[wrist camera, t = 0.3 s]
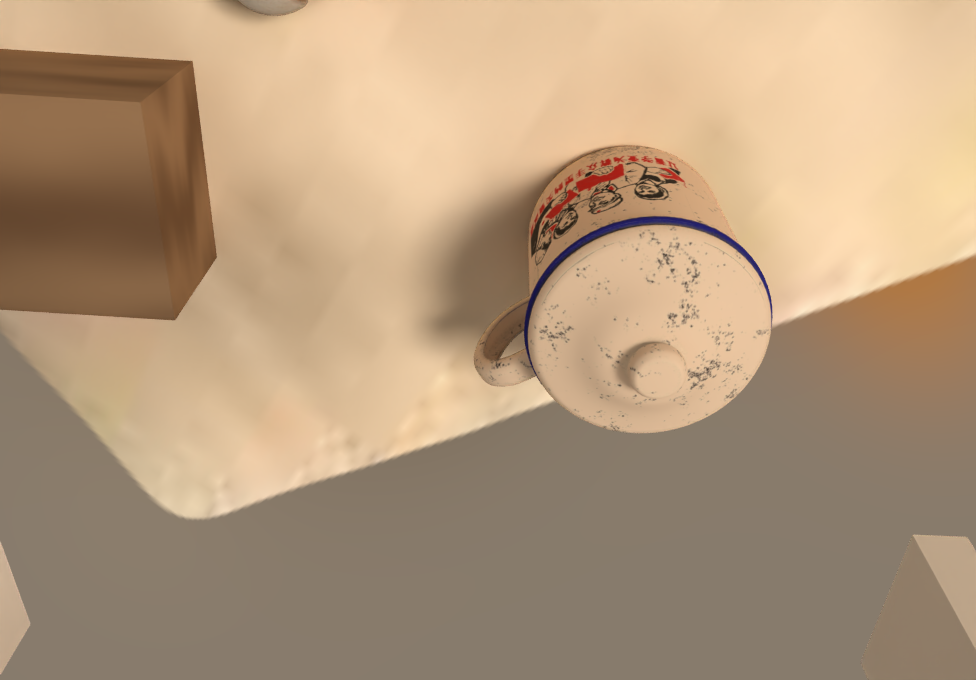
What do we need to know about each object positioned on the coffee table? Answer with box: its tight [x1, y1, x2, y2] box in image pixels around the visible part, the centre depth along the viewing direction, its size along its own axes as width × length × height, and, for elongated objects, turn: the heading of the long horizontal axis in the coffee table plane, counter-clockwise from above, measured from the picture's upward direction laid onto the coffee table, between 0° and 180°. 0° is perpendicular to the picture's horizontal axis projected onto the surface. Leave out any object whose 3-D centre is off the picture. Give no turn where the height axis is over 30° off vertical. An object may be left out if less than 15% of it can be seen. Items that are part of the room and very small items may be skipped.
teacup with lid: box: [474, 146, 772, 433], centre depth 34 cm, size 12×9×12 cm
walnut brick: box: [0, 49, 217, 320], centre depth 35 cm, size 9×9×6 cm
